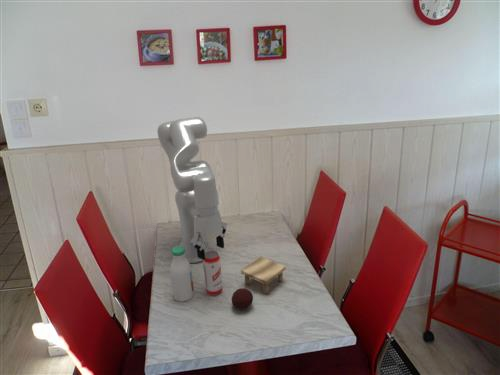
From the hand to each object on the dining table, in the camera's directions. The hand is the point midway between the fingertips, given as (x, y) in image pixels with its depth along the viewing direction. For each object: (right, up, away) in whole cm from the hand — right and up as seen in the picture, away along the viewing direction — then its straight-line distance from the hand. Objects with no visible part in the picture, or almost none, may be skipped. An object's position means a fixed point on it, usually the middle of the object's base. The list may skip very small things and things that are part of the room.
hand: (211, 252), depth 148 cm
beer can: (+1, -16, +6) cm, 17 cm away
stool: (+19, -13, +10) cm, 25 cm away
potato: (+11, -19, -3) cm, 22 cm away
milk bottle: (-11, -17, +5) cm, 21 cm away
